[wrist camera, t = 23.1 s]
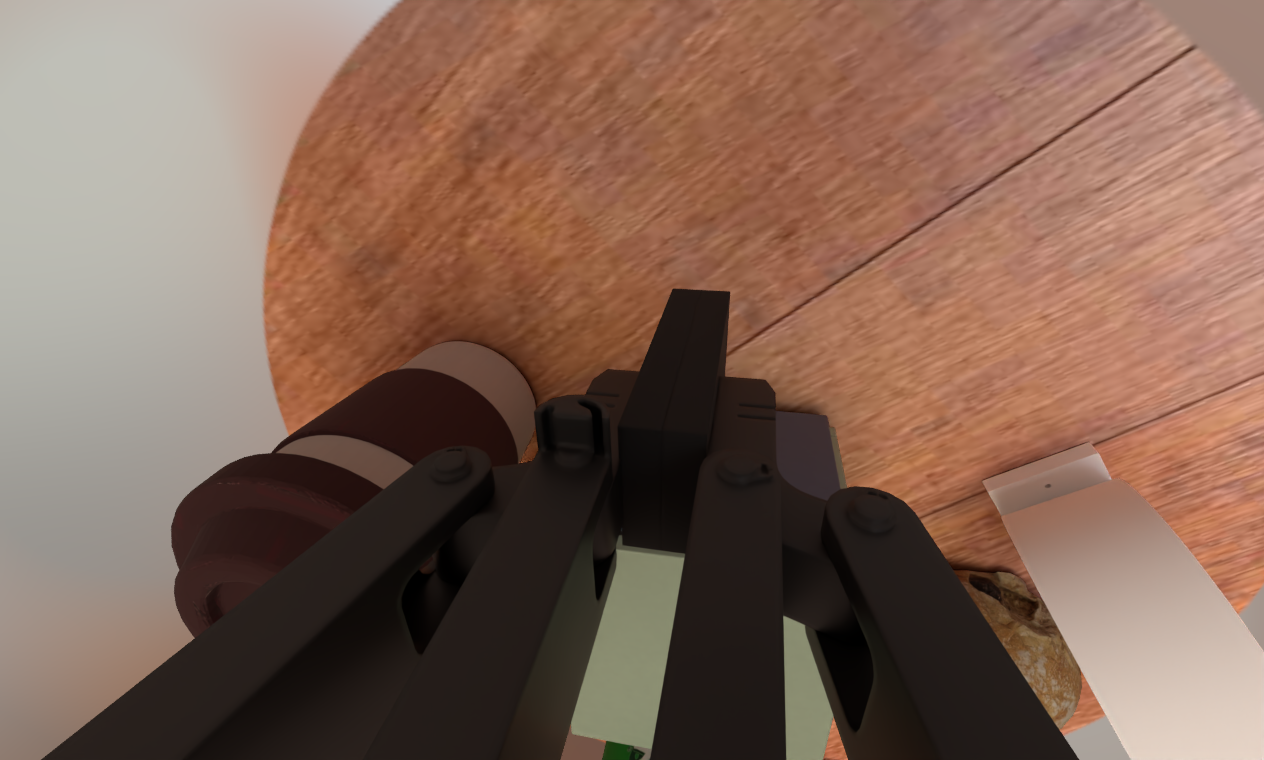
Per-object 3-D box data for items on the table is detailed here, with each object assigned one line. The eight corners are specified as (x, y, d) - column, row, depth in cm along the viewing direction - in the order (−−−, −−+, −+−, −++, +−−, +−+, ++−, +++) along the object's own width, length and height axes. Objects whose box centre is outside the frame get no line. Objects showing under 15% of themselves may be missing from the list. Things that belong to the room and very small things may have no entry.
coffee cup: (402, 460, 34) (184, 701, 21) (373, 302, 29) (69, 490, 16) (565, 486, 33) (437, 763, 20) (562, 325, 28) (391, 550, 15)
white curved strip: (1022, 551, 29) (1166, 823, 19) (972, 464, 27) (1099, 710, 17) (1129, 519, 27) (1355, 803, 17) (1081, 423, 25) (1300, 673, 15)
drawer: (614, 374, 28) (566, 475, 21) (831, 391, 26) (855, 506, 19) (621, 562, 33) (586, 688, 27) (799, 586, 32) (809, 727, 25)
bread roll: (1044, 556, 33) (1146, 621, 25) (1014, 727, 34) (1103, 843, 26) (863, 526, 34) (905, 579, 27) (837, 692, 35) (871, 791, 27)
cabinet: (608, 407, 30) (548, 540, 21) (835, 427, 28) (866, 582, 19) (615, 577, 35) (571, 735, 27) (804, 604, 33) (818, 782, 25)
